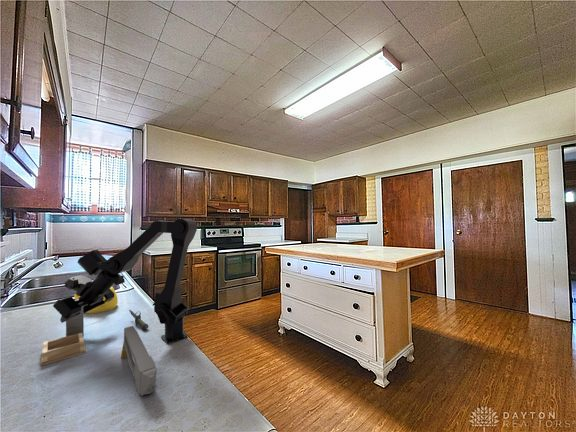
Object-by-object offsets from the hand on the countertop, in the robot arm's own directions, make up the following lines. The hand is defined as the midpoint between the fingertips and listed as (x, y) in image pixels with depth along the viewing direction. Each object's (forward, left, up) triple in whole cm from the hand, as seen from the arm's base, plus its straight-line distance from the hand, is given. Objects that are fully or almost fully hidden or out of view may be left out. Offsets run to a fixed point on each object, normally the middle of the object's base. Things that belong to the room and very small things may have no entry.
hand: (70, 317), depth 86 cm
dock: (-12, +2, -7) cm, 14 cm away
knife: (-4, -19, -7) cm, 20 cm away
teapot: (+29, -10, -7) cm, 31 cm away
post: (-1, -1, -7) cm, 7 cm away
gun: (-40, -11, -7) cm, 42 cm away
